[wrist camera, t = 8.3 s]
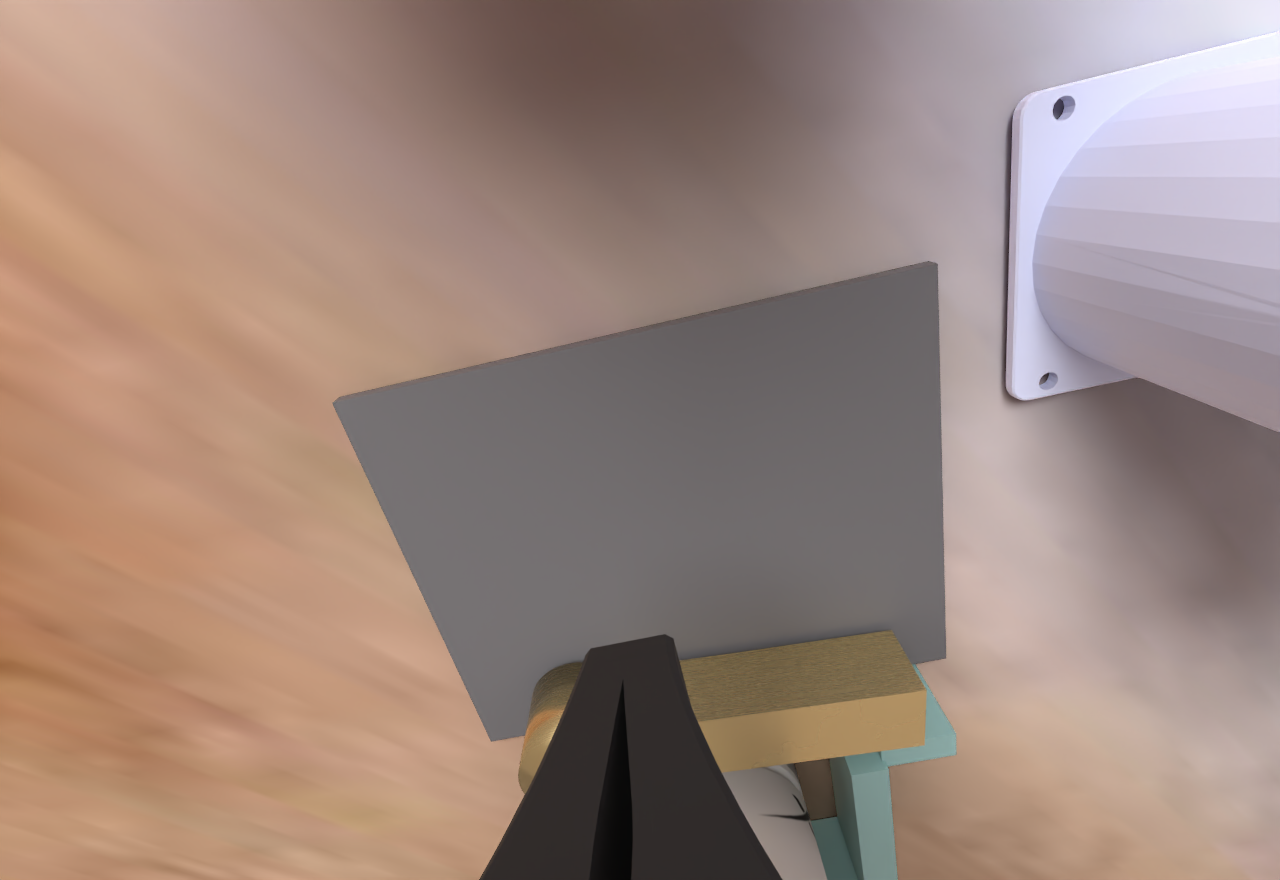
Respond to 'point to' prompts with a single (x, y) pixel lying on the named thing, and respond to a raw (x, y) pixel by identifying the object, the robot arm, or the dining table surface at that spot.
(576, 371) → the plate
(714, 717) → the swing latch
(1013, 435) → the dining table surface
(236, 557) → the dining table surface
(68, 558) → the dining table surface
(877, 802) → the mug holder
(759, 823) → the travel mug
